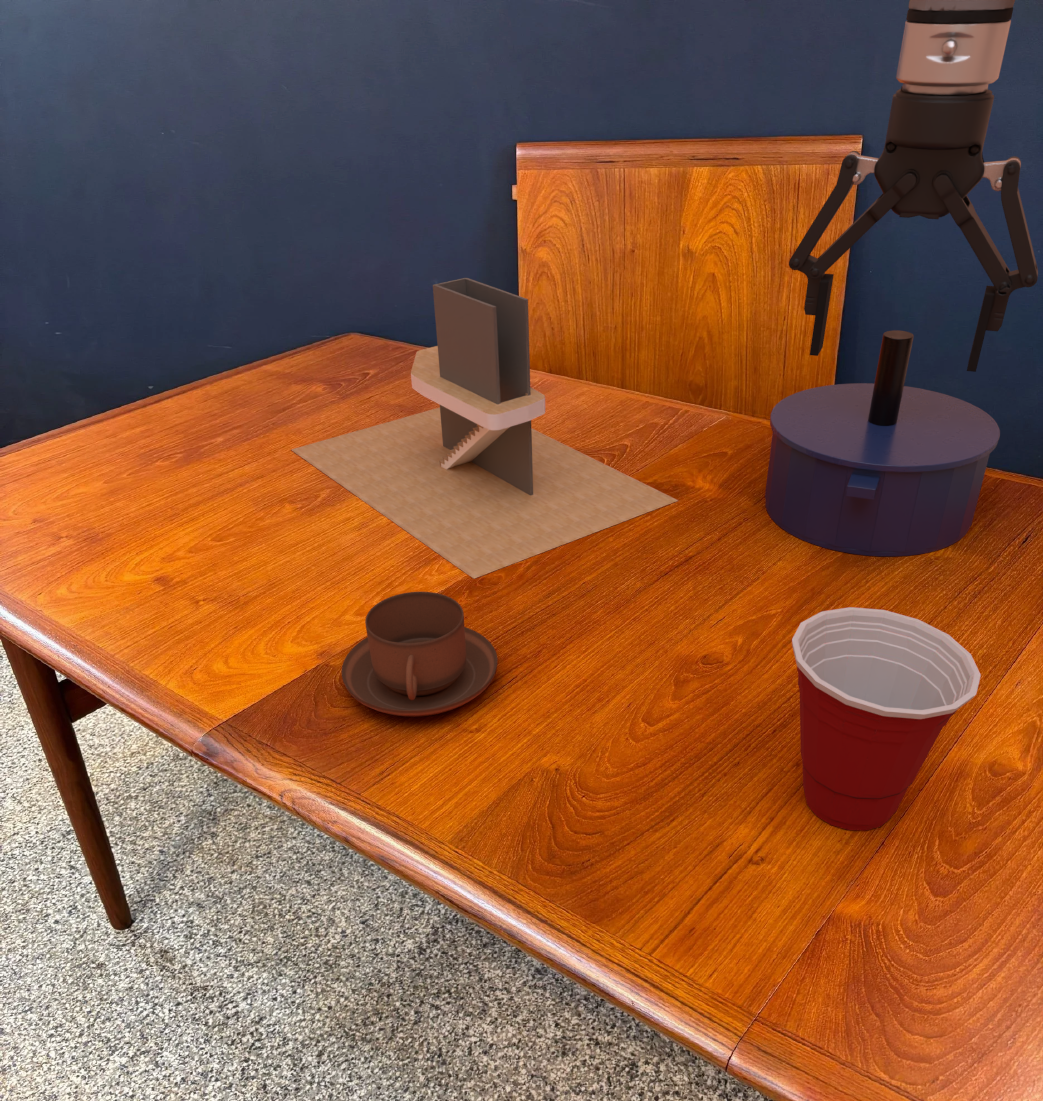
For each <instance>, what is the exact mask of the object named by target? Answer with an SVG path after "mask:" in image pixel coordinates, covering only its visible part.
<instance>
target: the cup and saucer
mask: <svg viewBox="0 0 1043 1101" xmlns="http://www.w3.org/2000/svg"><path fill="white" fill-rule="evenodd" d="M464 614H465V613H464V609H463V607H462V606H461V605H460V603H459V602H458V601H457V600H455V599H454V598H452V597H451V596H447V595H446V594H443V593H438V592H433V591H409V592H403V593H398V594H395V595H392V596H389V597H387V598H384V599H383V600H380V601H379V602H377V603H376V604H375V605H373V606H372V607H371V608H370V609H369V611H368V612H367V614H366V616H365V621H364V623H365V630H366V637H365V638H364V639H362V640H361V641H359V642H358V643H357V644H355V645H354V647H352V649H350V651H349V652H348V653H347V654H346V656H345V658H344V660H343V662H342V666H341V678H342V682H343V684H344V686H345V688H346V690H347V691H348V693H349V694H350V696H352V698H354V700H356V701H357V702H358V703H360V704H362V705H363V706H365V707H367V708H370V709H372V710H374V711H377V712H380V713H383V714H387V715H391V716H398V717H425V716H426V717H428V716H433V715H438V714H443V713H447V712H449V711H452V710H455V709H457V708H460V707H462V706H463V705H466V704H468V703H469V702H471V701H472V700H474V699H475V698H476V697H478V696H479V695H481V694H482V693H483V692H484V691H485V690H486V689H487V688H488V687H489V686H490V684H491V683H492V682H493V680H494V677H495V675H496V673H497V668H498V661H499V660H498V654H497V650H496V649H495V647H494V645H493V644H492V643H491V641H490V640H489V639H487V638H486V637H485V636H484V635H483V634H480V633H479V632H478V631H476V630H474V629H471V628H469V627H466V626H465V615H464Z"/></svg>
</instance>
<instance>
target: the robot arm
mask: <svg viewBox="0 0 1043 1101" xmlns="http://www.w3.org/2000/svg"><path fill="white" fill-rule="evenodd" d="M1015 1H1016V0H909V1H908V9H907V12H906V19H905V20H906V21H905V23H904V28H903V35H902V41H901V46H900V47H901V48H900V52H899V58H898V64H897V69H896V75H895V78H896V80H897V81H898V83H900V84H902V86H900V88H899V89H897V90H896V91H895V93H893V95H892V100H891V104H890V105H891V106H890V111H889V119H888V124H887V128H886V135H885V141H884V146H883V150H882V153H881V154H880V156H879V157H872V156H867V155H861V153H860V152H859V151H857V150H851V151H850V152H848V153H847V154H846V156H845V157H844V158H843V159H842V161H841V164H840V169H839V173H838V177H837V181H836V184H835V186H834V188H833V189H832V191H831V192H830V194H829V195H828V197H827V199H826V200H825V202H824V204H823V205H822V207H821V209H820V210H819V212H818V213H817V215H816V216H815V218H814V220H813V222H812V223H811V225H810V226H809V228H808V229H807V231H806V233H805V234H804V236H803V237H802V239H801V241H800V242H799V244H798V245H797V247H796V249H795V251H794V252H793V253H792V256H791V257H790V258H789V261H788V266H789V268H790V269H791V270H793V271H798V272H800V273H803V274H804V275H805V276H806V278H807V283H806V291H805V297H804V298H805V299H804V306H803V311H804V314H805V315H806V316H814V320H813V321H814V322H813V328H812V334H811V335H812V336H811V342H810V349H809V356H815V357H818V356H819V355H820V353H821V351H822V349H823V348H824V341H825V334H826V328H827V323H828V322H827V321H828V315H829V308H830V302H831V295H832V288H833V282H834V277H835V276H834V275H835V274H834V273H826V272H827V271H828V270H829V269H830V268H831V267H832V266H833V265H834V264H835V263H837V261H838V260H839V259H840V258H841V257H843V255H845V253H847V251H849V250H850V249H851V248H852V247H853V246H854V245H855V244H856V243H857V242H858V241H859V240H860V239H861V238H862V237H863V236H864V235H866V233H867V232H868V231H869V230H870V229H872V227H873V226H874V225H876V224H877V223H878V222H879V221H880V220H882V218H883V217H884V216H885V215H887V213H888V212H889V211H892V212H893V213H894V214H895V215H897V216H898V217H899V218H905V219H906V218H907V219H908V218H909V219H910V218H914V217H915V218H916V217H922V218H925V219H928V220H939V219H940V218H943V217H945V216H947V215H949V214H950V216H951V217H952V219H953V221H954V222H955V224H956V225H957V227H958V228H959V229H960V231H961V233H962V234H963V236H964V238H965V240H966V241H967V243H968V245H969V246H970V248H971V249H972V251H973V253H974V255H975V256H976V257H977V260H978V261H979V263H980V265H981V267H982V268H983V270H984V271H985V273H986V275H987V277H988V278H989V281H990V282H991V283H992V285H986V286H985V289H984V290H985V291H984V295H983V299H982V303H981V307H980V311H979V316H978V320H977V325H976V327H975V328H976V329H975V332H974V337H973V341H972V345H971V350H970V354H969V358H968V362H967V368H966V372H972V373H973V372H974V373H976V372H977V368H978V365H979V361H980V357H981V352H982V349H983V348H982V347H983V344H984V340H985V336H986V333H987V332H999V330H1000V329H1001V327H1002V326H1003V322H1004V319H1005V314H1006V312H1007V306H1008V302H1009V298H1010V296H1011V294H1012V293H1013V292H1014V291H1016V290H1019V289H1023V288H1032V287H1034V286H1035V285H1036V284H1037V282H1038V279H1039V278H1038V277H1039V268H1038V264H1037V260H1036V257H1035V252H1034V247H1033V243H1032V240H1031V236H1030V230H1029V228H1028V223H1027V218H1026V214H1025V211H1024V207H1023V202H1022V198H1021V194H1020V189H1019V181H1020V174H1021V167H1022V161H1021V159H1020V157H1018V156H1016V155H1015V156H1014V155H1013V156H1010V157H1009V158H1007V159H1006V160H996V161H985V159H984V155H983V150H984V146H985V141H986V136H987V131H988V127H989V121H990V118H991V113H992V109H993V105H994V99H995V95H994V94H993V91H992V90H990V89H989V85H990V84H993V83H995V82H996V81H997V80H998V79H999V77H1000V73H1001V69H1002V64H1003V60H1004V55H1005V50H1006V47H1007V46H1006V45H1007V41H1008V36H1009V33H1010V27H1011V24H1012V17H1013V12H1014V6H1015ZM870 174H873V175H874V178H875V180H876V182H877V184H878V186H879V188H880V190H881V192H882V194H881V195H880V196H878V198H876V200H875V201H874V202H872V203H871V205H870V206H869V207H868V208H867V209H866V210H865V211H864V212H863V213H862V214H860V216H859V217H858V218H857V219H856V220H855V221H854V222H853V223H852V224H851V225H850V226H849V227H847V229H846V230H844V231H843V233H842V234H841V235H839V237H837V239H835V241H833V242H832V244H830V245H829V247H827V249H825V250H824V251H823V253H821V254H820V256H818V257H816V256H814V255H811V254H812V252H813V250H814V249H815V247H816V245H817V244H818V243H819V241H820V239H822V236H823V235H824V233H825V231H826V230H827V228H828V227H829V225H830V223H831V222H832V220H833V219H834V218H835V216H836V214H837V212H838V211H839V209H840V208H841V206H842V205H843V203H844V201H845V200H846V198H847V197H848V196H849V194H850V191H851V190H852V188H853V186H857V185H860V184H862V183H863V181H864V180H865V178H866V176H868V175H870ZM982 179H988V181H989V183H990V187H991V189H992V190H993V191H995V192H1000V200H1001V205H1002V210H1003V213H1004V217H1005V221H1006V226H1007V230H1008V235H1009V238H1010V242H1011V247H1012V250H1013V254H1014V257H1015V262H1016V267H1017V269H1015V270H1010V268H1009V267H1008V265H1007V264H1006V262H1005V260H1004V258H1003V257H1002V254H1001V253H1000V251H999V249H998V248H997V246H996V245H995V243H994V241H993V239H992V238H991V236H990V234H989V233H988V231H987V229H986V227H985V225H984V224H983V222H982V221H981V218H980V217H979V215H978V214H977V212H976V210H975V207H974V205H973V203H972V201H971V199H970V198H969V196H968V195H969V193H970V192H971V191H972V190H973V189H974V188H975V187H976V186H977V185H978V184H979V183H980V182H981V181H982Z"/></svg>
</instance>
